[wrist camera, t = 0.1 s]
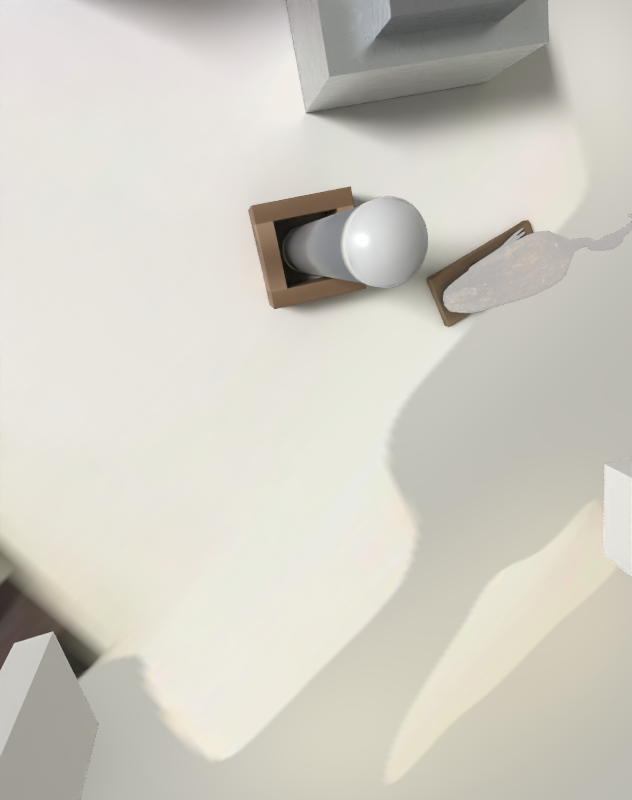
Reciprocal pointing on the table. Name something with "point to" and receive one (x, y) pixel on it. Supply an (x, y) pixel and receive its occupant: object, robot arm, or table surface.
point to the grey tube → (361, 244)
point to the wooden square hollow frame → (270, 254)
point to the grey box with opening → (407, 45)
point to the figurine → (509, 269)
